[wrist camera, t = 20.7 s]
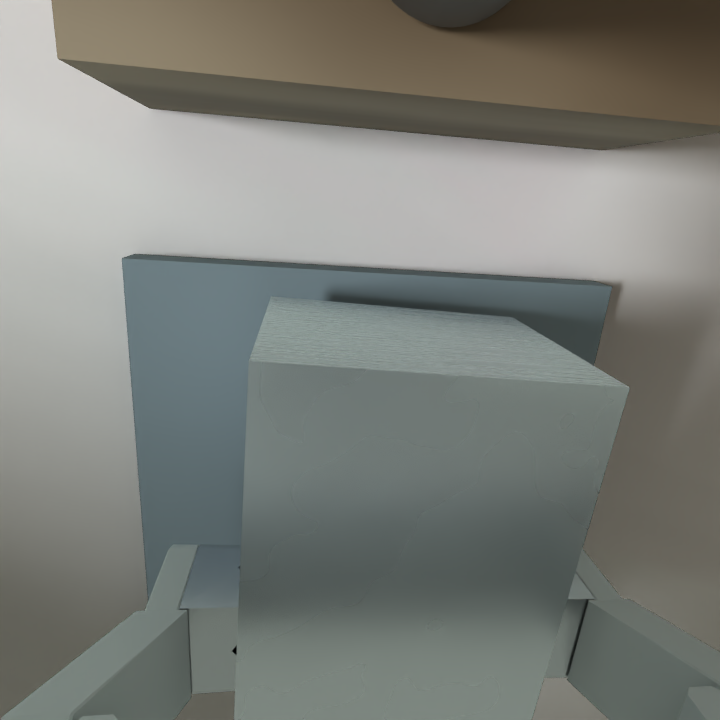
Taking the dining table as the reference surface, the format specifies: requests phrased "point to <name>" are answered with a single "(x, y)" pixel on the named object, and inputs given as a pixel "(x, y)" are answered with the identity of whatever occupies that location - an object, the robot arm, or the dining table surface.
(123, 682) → the robot arm
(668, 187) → the dining table surface
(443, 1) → the cam lever
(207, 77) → the body
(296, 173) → the dining table surface
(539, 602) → the grey-blue rectangular block
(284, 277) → the pad
